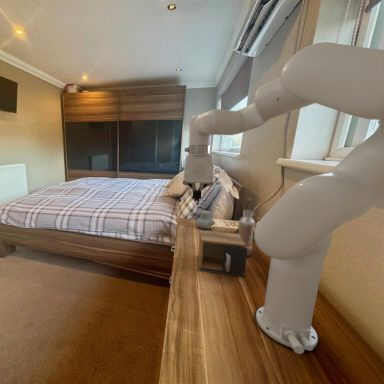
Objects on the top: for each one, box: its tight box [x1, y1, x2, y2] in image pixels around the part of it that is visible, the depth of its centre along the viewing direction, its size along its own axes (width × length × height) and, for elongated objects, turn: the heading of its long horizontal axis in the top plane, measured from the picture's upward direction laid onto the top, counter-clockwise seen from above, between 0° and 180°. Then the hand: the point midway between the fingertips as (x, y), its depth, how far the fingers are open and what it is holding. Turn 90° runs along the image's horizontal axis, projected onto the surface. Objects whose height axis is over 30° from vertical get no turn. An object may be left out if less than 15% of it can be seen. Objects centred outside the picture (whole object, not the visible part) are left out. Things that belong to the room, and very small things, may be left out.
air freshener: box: [194, 209, 216, 230], centre depth 121 cm, size 11×8×10 cm
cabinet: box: [197, 230, 245, 277], centre depth 80 cm, size 11×15×12 cm
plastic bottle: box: [238, 209, 257, 257], centre depth 88 cm, size 6×7×20 cm
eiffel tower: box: [234, 192, 256, 243], centre depth 107 cm, size 11×11×25 cm
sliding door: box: [222, 245, 248, 275], centre depth 73 cm, size 5×7×10 cm, turn 74°
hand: (196, 200), depth 76 cm, fingers closed
